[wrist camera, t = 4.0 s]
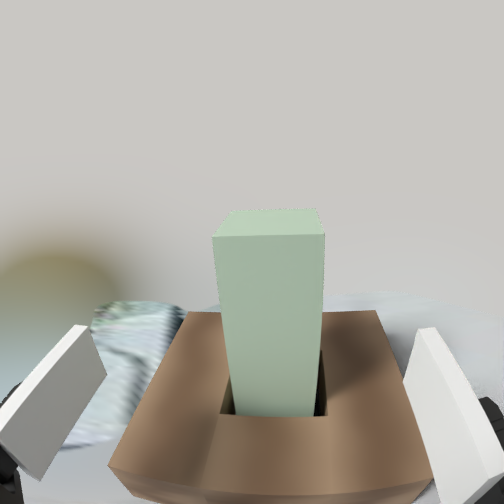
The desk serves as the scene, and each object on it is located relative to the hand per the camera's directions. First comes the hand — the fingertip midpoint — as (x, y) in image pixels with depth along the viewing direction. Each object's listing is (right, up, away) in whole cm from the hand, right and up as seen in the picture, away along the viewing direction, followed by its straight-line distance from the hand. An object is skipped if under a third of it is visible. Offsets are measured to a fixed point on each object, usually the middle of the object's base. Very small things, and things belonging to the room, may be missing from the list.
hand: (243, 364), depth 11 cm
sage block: (+2, -7, +8) cm, 11 cm away
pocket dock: (+2, -7, +8) cm, 11 cm away
